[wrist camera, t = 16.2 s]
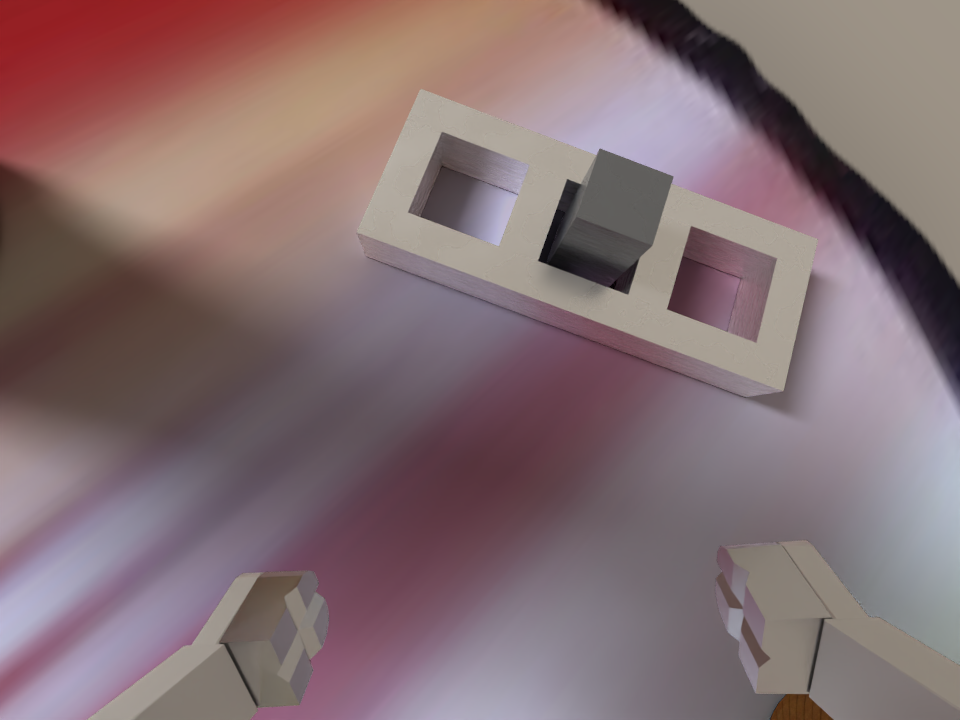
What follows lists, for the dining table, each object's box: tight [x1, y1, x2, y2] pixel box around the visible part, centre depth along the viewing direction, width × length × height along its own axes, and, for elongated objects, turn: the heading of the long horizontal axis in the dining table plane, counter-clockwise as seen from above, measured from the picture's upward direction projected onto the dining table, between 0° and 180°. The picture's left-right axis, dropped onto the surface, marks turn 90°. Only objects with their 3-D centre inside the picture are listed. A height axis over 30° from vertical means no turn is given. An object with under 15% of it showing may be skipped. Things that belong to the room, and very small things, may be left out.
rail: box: [357, 89, 818, 397], centre depth 30 cm, size 26×10×4 cm, turn 70°
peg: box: [546, 149, 673, 287], centre depth 27 cm, size 4×4×8 cm
